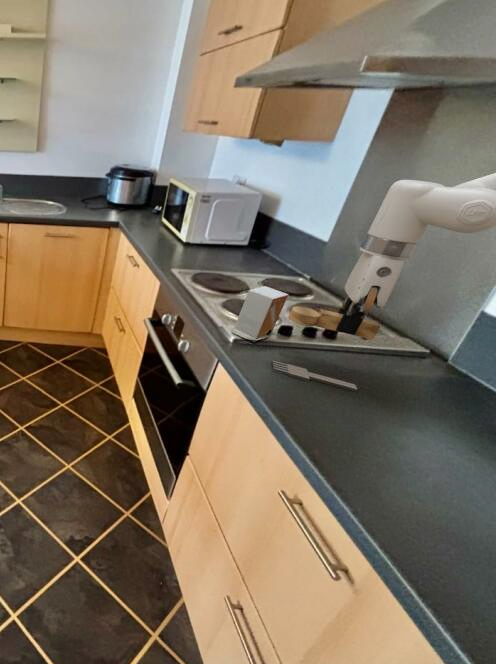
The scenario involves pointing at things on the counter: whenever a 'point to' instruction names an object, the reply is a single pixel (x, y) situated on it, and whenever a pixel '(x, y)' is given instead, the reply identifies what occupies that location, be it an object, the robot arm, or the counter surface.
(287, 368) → the serving fork
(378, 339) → the counter surface
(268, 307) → the small box
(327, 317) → the wooden spoon
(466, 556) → the counter surface
